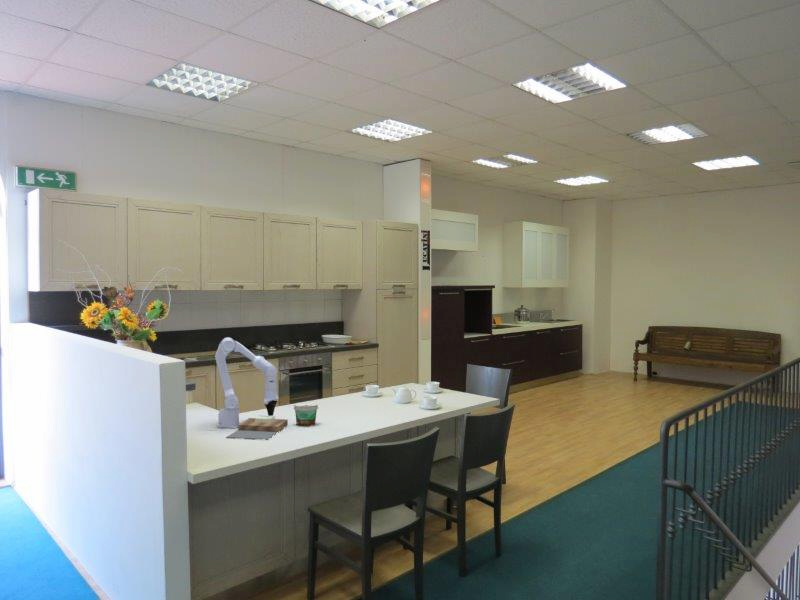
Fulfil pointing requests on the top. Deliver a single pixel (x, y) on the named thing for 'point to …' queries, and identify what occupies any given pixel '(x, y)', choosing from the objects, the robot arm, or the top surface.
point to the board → (263, 425)
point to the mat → (251, 434)
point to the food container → (305, 415)
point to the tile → (264, 419)
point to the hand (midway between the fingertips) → (270, 415)
